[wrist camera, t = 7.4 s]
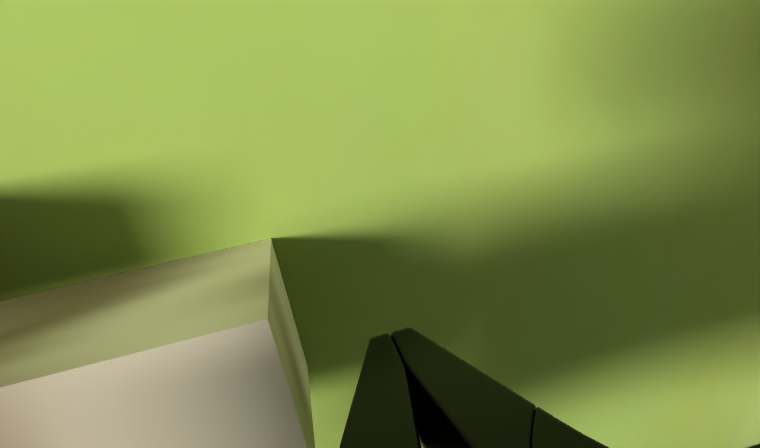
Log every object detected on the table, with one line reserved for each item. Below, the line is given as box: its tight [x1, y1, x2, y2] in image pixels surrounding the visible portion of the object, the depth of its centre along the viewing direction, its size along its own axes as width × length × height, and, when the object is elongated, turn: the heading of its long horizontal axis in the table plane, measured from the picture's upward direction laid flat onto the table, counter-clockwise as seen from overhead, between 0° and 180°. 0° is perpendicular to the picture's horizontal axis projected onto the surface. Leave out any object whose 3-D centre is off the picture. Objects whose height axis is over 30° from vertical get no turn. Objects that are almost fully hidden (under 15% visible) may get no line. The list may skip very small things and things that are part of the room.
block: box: [0, 238, 315, 448], centre depth 8 cm, size 10×4×4 cm, turn 100°
